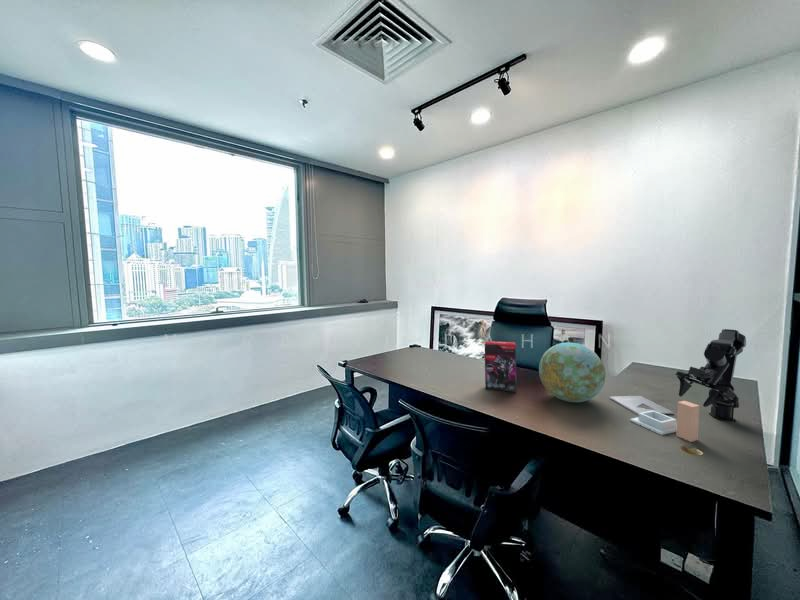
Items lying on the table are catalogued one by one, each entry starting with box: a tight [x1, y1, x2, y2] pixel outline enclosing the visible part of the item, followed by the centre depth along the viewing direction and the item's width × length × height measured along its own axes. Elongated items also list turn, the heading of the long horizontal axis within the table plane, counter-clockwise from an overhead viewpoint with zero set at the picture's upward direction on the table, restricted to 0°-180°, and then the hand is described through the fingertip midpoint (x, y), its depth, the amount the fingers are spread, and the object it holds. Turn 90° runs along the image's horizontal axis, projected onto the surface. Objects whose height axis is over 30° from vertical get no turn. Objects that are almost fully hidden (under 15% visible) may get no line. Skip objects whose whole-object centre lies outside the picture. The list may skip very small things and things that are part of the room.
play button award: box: [609, 395, 675, 416], centre depth 156 cm, size 16×2×20 cm
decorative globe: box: [538, 341, 606, 403], centre depth 165 cm, size 30×30×30 cm
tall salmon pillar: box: [675, 400, 700, 443], centre depth 126 cm, size 4×5×14 cm
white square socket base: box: [629, 410, 677, 436], centre depth 137 cm, size 13×13×4 cm
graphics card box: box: [484, 340, 517, 392], centre depth 183 cm, size 17×7×27 cm, turn 72°
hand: (691, 401), depth 130 cm, fingers open, 9 cm apart
